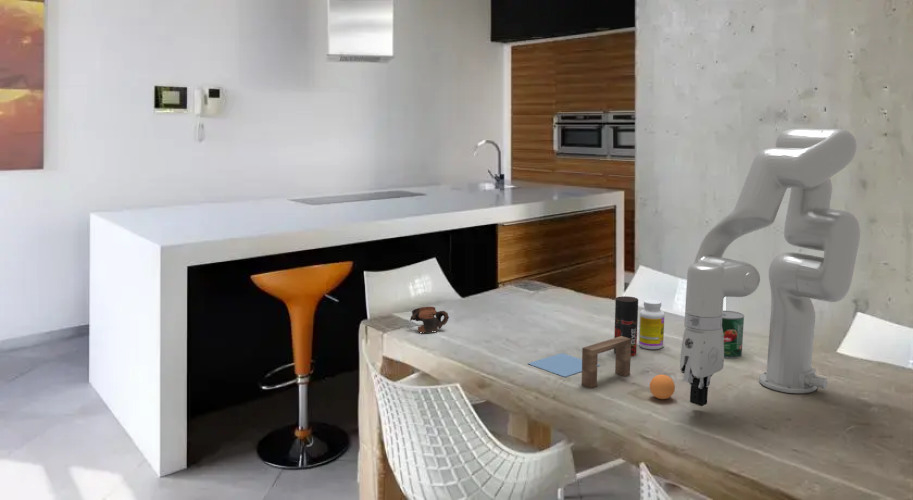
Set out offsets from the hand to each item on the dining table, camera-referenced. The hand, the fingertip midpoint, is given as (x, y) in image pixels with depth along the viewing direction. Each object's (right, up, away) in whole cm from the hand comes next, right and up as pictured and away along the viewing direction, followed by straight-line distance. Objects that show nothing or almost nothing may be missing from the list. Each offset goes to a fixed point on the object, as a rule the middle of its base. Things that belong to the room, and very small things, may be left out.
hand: (698, 403), depth 159 cm
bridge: (-16, +2, +20) cm, 26 cm away
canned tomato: (+20, +5, +39) cm, 44 cm away
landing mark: (-25, +4, +31) cm, 39 cm away
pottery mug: (-61, +9, +63) cm, 88 cm away
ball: (-6, +2, +7) cm, 10 cm away
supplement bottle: (+2, +6, +45) cm, 46 cm away
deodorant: (-7, +5, +40) cm, 41 cm away
